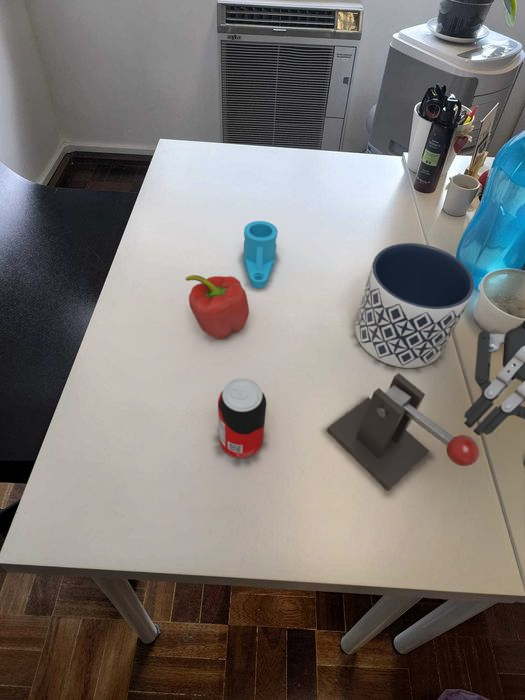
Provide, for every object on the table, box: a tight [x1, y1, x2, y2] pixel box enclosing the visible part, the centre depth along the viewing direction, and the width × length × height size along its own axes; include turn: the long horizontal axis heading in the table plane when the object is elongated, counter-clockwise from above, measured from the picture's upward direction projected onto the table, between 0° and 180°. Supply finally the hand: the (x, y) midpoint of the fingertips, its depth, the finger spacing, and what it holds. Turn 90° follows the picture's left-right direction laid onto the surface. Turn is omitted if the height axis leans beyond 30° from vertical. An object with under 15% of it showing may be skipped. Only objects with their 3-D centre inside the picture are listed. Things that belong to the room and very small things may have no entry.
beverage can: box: [217, 377, 267, 459], centre depth 64 cm, size 6×6×12 cm
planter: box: [354, 242, 475, 369], centre depth 79 cm, size 16×16×14 cm
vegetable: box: [185, 274, 250, 339], centre depth 80 cm, size 11×10×10 cm
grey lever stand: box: [326, 372, 430, 492], centre depth 65 cm, size 12×9×13 cm
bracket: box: [242, 220, 278, 289], centre depth 92 cm, size 6×12×7 cm, turn 179°
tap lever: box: [384, 385, 480, 467], centre depth 59 cm, size 13×4×4 cm, turn 40°
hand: (472, 429), depth 53 cm, fingers closed
